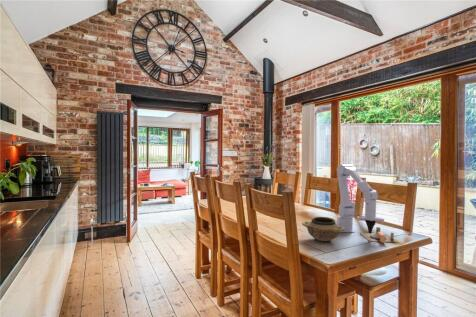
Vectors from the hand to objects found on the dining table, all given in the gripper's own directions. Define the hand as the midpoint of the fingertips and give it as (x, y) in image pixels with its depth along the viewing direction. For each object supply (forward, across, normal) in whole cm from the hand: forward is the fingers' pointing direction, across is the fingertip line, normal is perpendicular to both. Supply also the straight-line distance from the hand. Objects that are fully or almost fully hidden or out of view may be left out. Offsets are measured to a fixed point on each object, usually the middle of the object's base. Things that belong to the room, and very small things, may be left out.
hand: (369, 233), depth 164 cm
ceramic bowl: (+4, -27, -13) cm, 30 cm away
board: (+4, +5, +5) cm, 9 cm away
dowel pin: (+4, +12, +4) cm, 14 cm away
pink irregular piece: (+3, +5, +2) cm, 7 cm away
